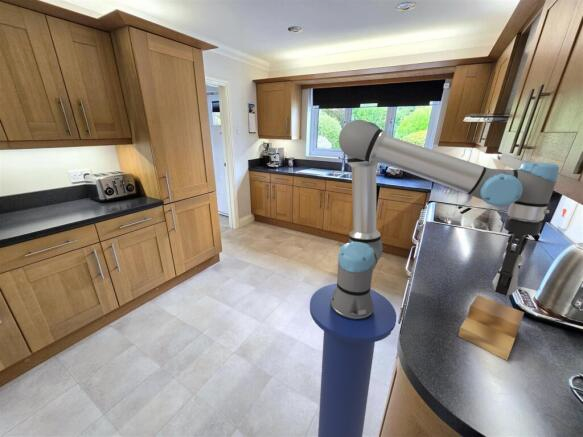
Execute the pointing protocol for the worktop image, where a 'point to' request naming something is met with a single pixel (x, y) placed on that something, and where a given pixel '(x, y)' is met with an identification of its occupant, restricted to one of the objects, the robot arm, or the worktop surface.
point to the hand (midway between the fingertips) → (503, 289)
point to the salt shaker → (514, 279)
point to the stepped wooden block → (491, 326)
